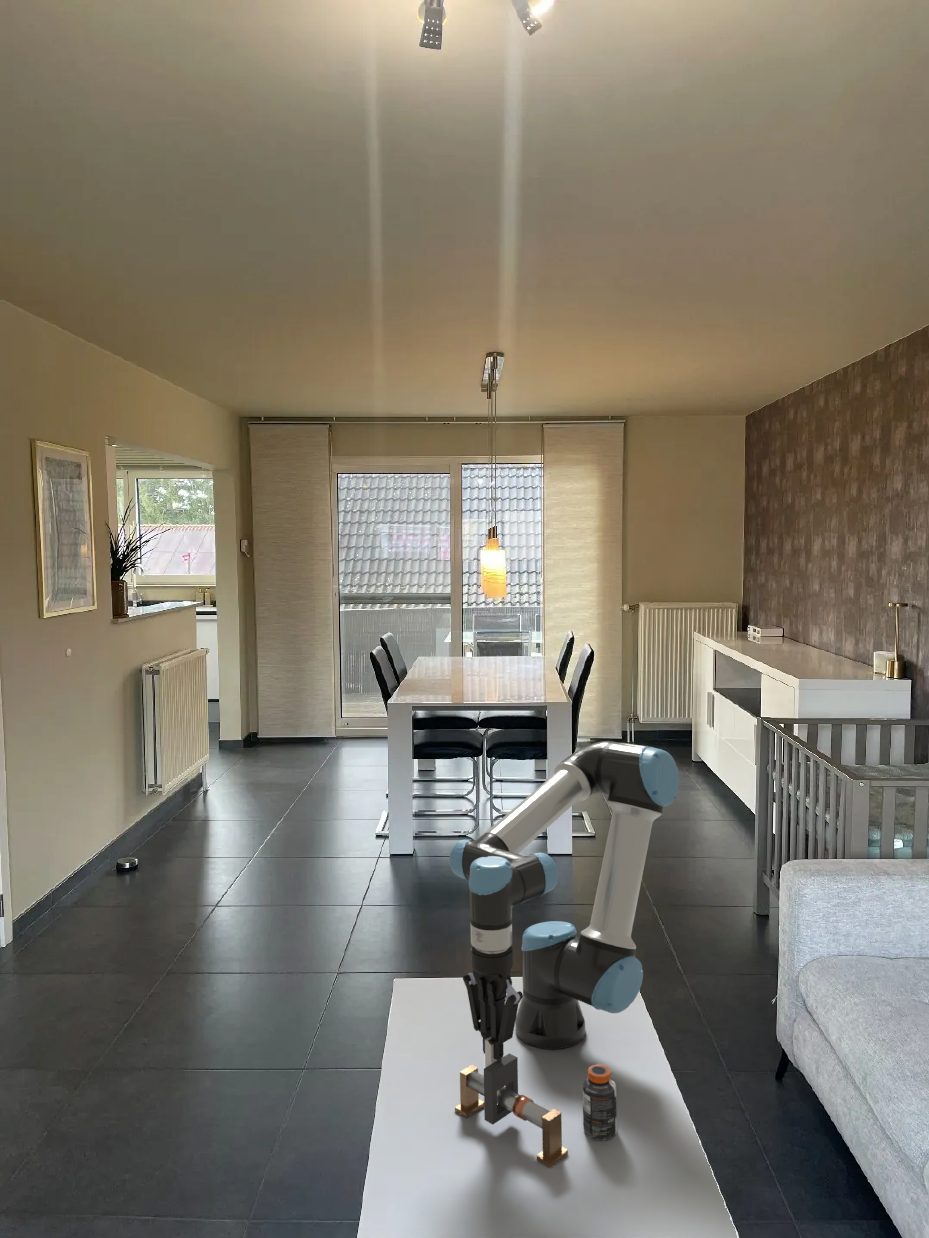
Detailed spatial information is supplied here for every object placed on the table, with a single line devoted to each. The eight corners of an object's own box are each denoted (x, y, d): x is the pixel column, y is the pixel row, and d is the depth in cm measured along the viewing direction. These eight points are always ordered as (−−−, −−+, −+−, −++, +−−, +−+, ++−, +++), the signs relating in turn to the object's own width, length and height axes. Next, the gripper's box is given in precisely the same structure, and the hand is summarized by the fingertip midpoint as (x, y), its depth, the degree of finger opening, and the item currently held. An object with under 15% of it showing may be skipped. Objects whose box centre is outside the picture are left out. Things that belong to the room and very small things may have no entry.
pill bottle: (621, 1126, 158) (621, 1065, 157) (609, 1145, 153) (609, 1082, 152) (590, 1116, 161) (590, 1056, 160) (578, 1135, 156) (577, 1073, 155)
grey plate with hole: (484, 1119, 156) (483, 1068, 156) (510, 1102, 161) (509, 1053, 161) (492, 1124, 155) (491, 1072, 155) (518, 1107, 160) (517, 1057, 159)
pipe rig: (454, 1110, 163) (454, 1070, 163) (472, 1099, 167) (472, 1060, 166) (550, 1167, 147) (549, 1123, 147) (568, 1154, 151) (567, 1110, 150)
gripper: (451, 941, 160) (453, 1067, 161) (503, 963, 150) (505, 1096, 152) (480, 929, 165) (482, 1051, 166) (532, 949, 156) (534, 1078, 157)
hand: (493, 1072), depth 159 cm, fingers closed
